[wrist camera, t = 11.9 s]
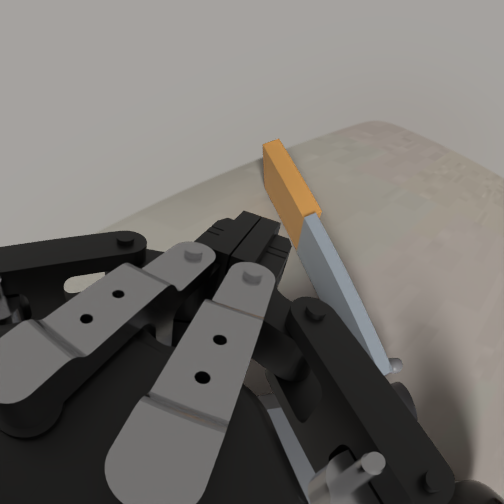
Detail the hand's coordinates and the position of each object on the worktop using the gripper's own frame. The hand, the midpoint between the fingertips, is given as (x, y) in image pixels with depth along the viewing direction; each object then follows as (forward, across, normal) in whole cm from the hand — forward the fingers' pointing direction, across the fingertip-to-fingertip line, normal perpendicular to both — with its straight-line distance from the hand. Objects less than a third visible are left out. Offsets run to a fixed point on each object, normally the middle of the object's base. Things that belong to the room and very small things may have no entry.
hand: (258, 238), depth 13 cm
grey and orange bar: (+13, +4, -8) cm, 16 cm away
